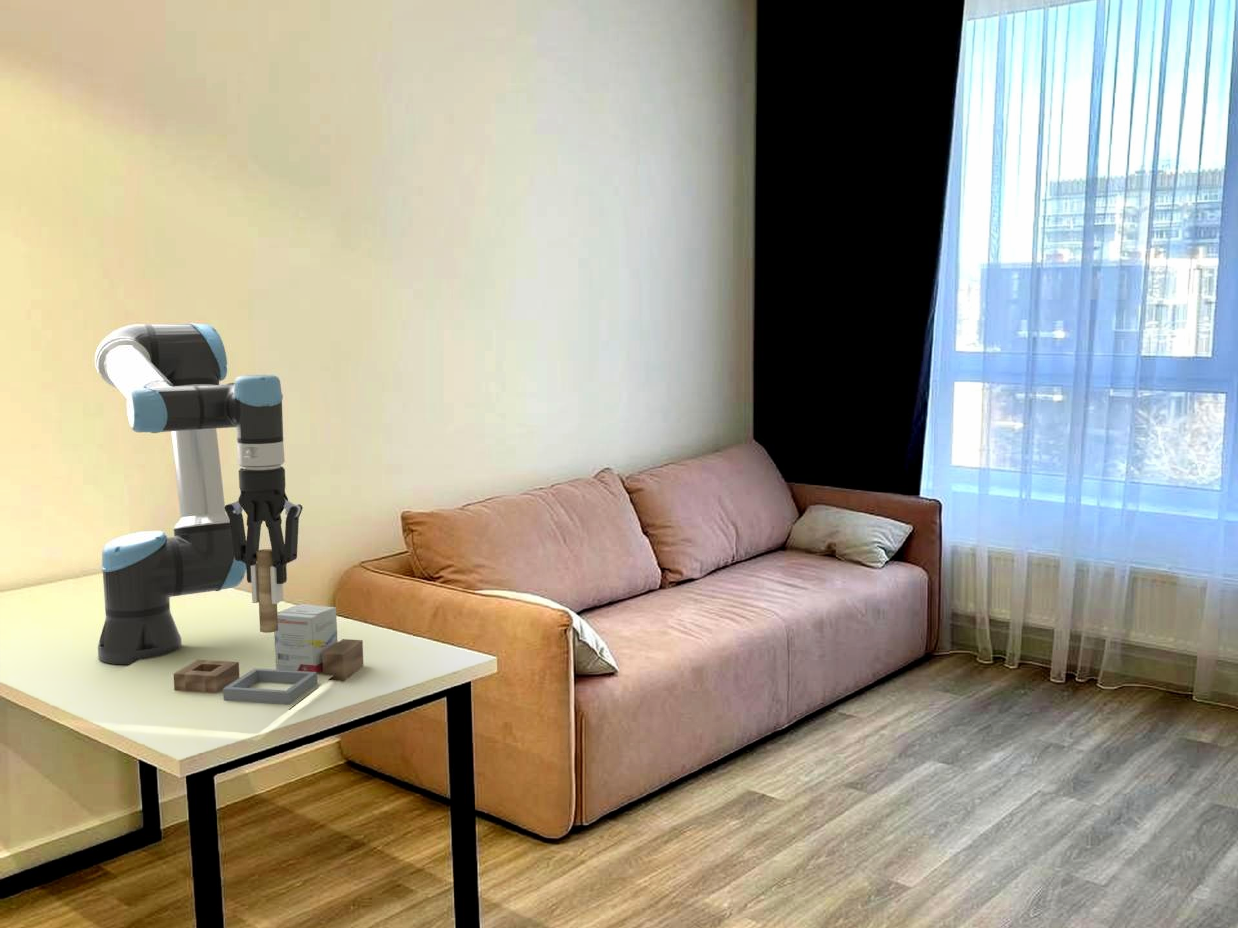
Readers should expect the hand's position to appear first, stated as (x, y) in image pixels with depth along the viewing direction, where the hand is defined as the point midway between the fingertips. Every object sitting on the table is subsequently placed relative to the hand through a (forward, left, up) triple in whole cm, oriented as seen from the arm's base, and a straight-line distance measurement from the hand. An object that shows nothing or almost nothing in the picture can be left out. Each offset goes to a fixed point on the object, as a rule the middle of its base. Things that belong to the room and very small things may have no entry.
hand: (267, 601), depth 199 cm
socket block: (-13, +2, -17) cm, 22 cm away
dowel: (0, 0, -5) cm, 5 cm away
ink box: (0, +15, -17) cm, 23 cm away
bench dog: (+7, +15, -17) cm, 24 cm away
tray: (0, 0, -17) cm, 17 cm away
